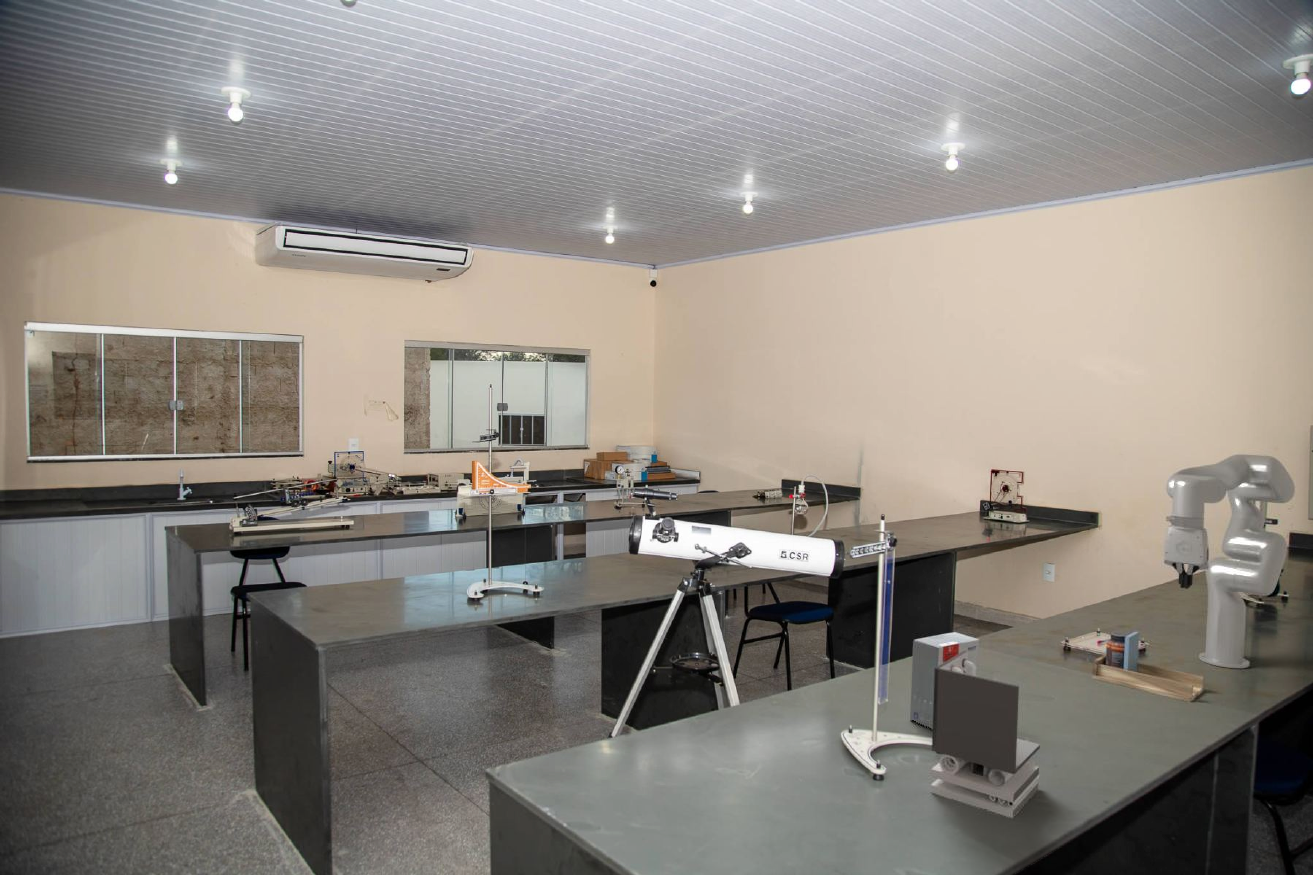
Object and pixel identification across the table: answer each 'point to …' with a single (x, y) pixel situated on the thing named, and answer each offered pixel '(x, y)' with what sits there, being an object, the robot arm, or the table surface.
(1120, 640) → the supplement bottle
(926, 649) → the hard drive box
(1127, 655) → the pusher plate
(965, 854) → the table surface
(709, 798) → the table surface
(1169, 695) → the lane tray
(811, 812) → the table surface
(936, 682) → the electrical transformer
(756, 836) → the table surface
